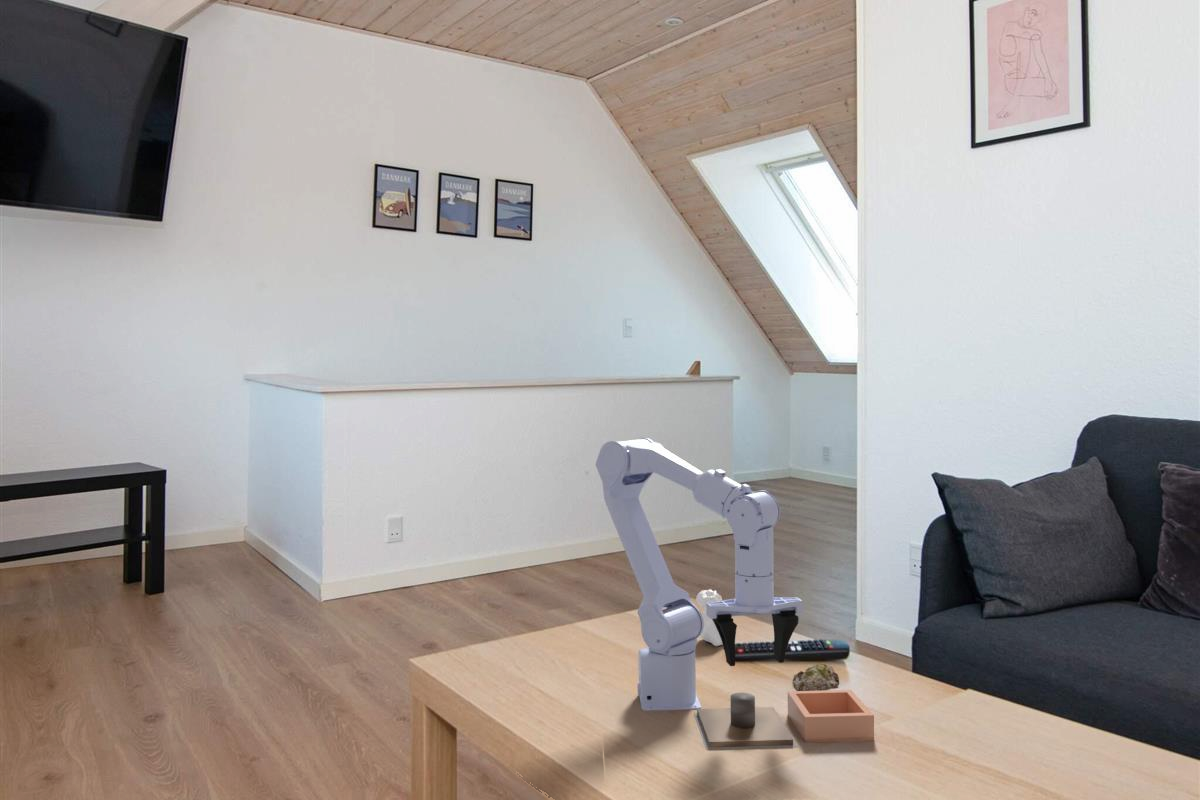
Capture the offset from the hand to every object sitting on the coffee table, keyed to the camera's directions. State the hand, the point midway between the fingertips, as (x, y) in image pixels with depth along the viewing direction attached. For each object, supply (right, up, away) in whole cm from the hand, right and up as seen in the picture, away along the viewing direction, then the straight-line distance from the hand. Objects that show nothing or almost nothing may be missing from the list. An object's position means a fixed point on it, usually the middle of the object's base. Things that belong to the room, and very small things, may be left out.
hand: (755, 662), depth 126 cm
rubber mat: (-2, -10, -1) cm, 10 cm away
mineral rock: (+13, -10, +17) cm, 24 cm away
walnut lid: (-2, -10, -1) cm, 10 cm away
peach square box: (+11, -10, -1) cm, 15 cm away
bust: (0, -9, +43) cm, 44 cm away
